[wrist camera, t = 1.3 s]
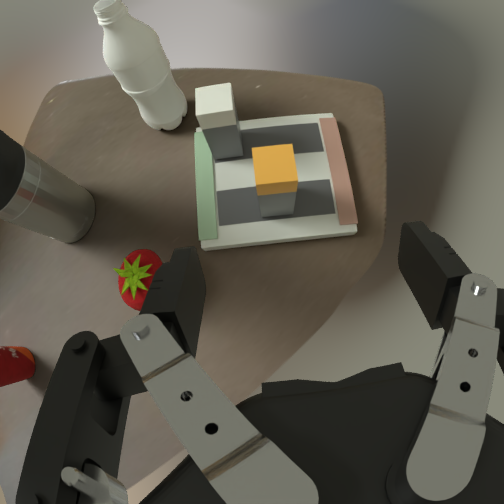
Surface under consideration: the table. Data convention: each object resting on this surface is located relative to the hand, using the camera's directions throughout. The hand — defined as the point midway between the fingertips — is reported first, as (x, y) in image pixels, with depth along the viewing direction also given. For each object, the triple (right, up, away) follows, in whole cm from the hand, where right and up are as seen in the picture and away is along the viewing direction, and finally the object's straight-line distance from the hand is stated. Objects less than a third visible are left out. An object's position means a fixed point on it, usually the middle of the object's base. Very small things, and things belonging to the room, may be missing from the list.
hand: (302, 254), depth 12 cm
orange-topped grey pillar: (+1, +7, +29) cm, 29 cm away
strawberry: (-15, -4, +31) cm, 34 cm away
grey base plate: (+1, +10, +32) cm, 33 cm away
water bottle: (-15, +22, +35) cm, 44 cm away
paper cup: (-41, -19, +30) cm, 54 cm away
